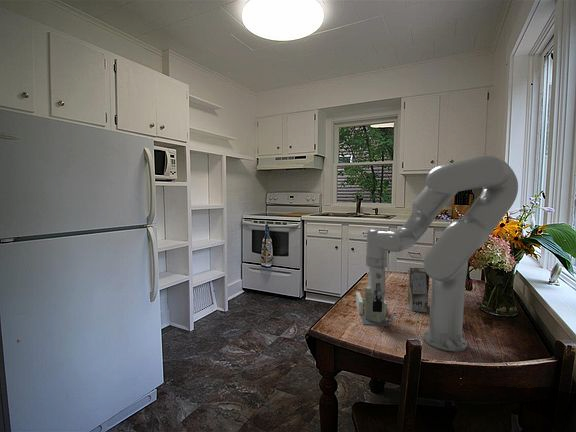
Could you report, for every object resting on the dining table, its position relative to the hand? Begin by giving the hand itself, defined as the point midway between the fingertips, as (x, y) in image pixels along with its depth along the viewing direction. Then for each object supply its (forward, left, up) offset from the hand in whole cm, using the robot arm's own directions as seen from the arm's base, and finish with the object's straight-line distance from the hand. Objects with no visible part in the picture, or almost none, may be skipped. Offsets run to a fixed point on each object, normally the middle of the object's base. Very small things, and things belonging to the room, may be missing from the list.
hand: (375, 306), depth 115 cm
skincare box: (0, 0, -5) cm, 5 cm away
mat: (0, 0, -5) cm, 5 cm away
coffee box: (+16, -20, -6) cm, 26 cm away
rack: (+11, 0, -5) cm, 12 cm away
